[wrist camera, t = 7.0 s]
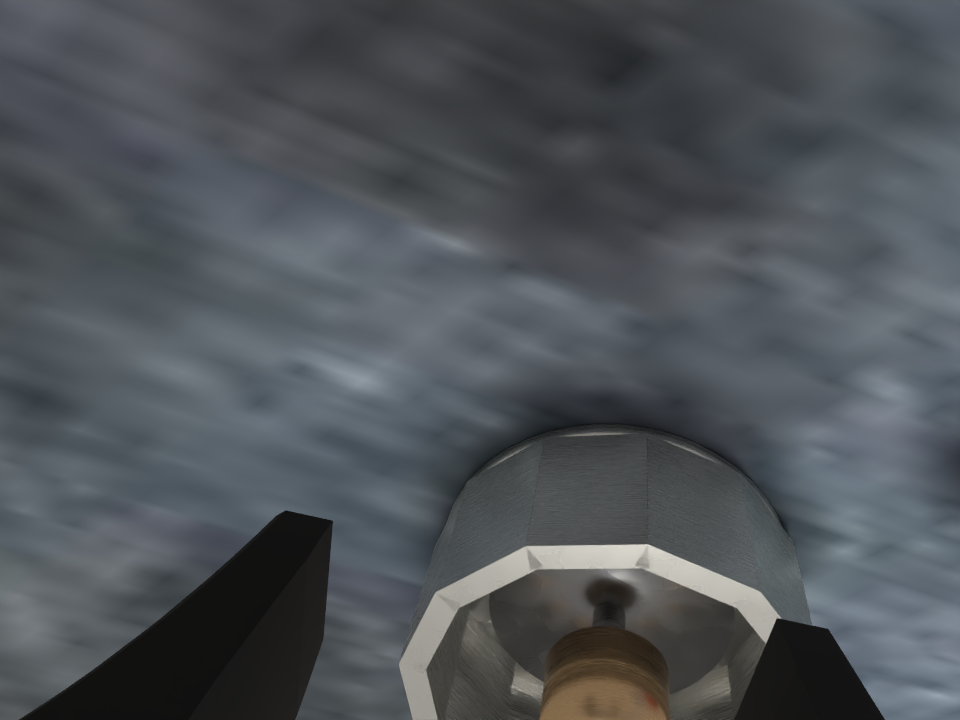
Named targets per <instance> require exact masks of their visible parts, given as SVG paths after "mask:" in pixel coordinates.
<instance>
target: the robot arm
mask: <svg viewBox="0 0 960 720" xmlns="http://www.w3.org/2000/svg"><path fill="white" fill-rule="evenodd" d="M332 525H333V521H331V520H327V519H322V518H318V517H313V516H309V515H304V514H299V513H295V512H290V511H284V512H282V513H280V514H279V515H277V516H276V517H275V518H274V519H273V520H272V521H270V522H269V523H268V524H267V525H266V526H265V527H264V528H263V529H262V530H261V531H260V532H259V533H258V534H257V535H256V536H255V537H254V538H253V539H252V540H251V541H249V542H248V543H247V544H246V545H245V546H244V547H243V548H242V549H241V550H240V551H239V552H238V553H236V554H235V555H234V556H233V557H232V558H231V559H230V560H229V561H228V562H226V563H225V564H224V565H223V566H222V567H221V568H220V569H219V570H217V571H216V572H215V573H214V574H213V575H212V576H211V577H210V578H208V579H207V580H206V581H205V582H204V583H203V584H201V585H200V586H199V587H198V588H197V589H195V590H194V591H193V592H192V593H191V594H189V595H188V596H187V597H186V598H185V599H183V600H182V601H181V602H180V603H179V604H177V605H176V606H175V607H174V608H173V609H171V610H170V611H169V612H168V613H167V614H165V615H164V616H163V617H162V618H161V619H159V620H158V621H157V622H156V623H154V624H153V625H152V626H151V627H149V628H148V629H147V630H145V631H144V632H143V633H141V634H140V635H139V636H137V637H136V638H135V639H133V640H132V641H131V642H129V643H128V644H127V645H125V646H124V647H123V648H122V649H120V650H119V651H118V652H116V653H115V654H114V655H112V656H111V657H110V658H108V659H107V660H106V661H104V662H103V663H102V664H100V665H99V666H98V667H96V668H95V669H94V670H92V671H91V672H89V673H88V674H87V675H85V676H84V677H82V678H81V679H79V680H78V681H77V682H75V683H74V684H72V685H71V686H69V687H68V688H66V689H65V690H64V691H62V692H61V693H59V694H58V695H56V696H55V697H53V698H52V699H50V700H49V701H47V702H46V703H44V704H43V705H41V706H39V707H38V708H36V709H35V710H33V711H32V712H30V713H29V714H27V715H26V716H24V717H22V718H21V719H19V720H295V718H296V716H297V714H298V711H299V708H300V705H301V702H302V699H303V697H304V694H305V691H306V688H307V685H308V682H309V679H310V677H311V674H312V671H313V668H314V665H315V662H316V659H317V656H318V653H319V650H320V647H321V644H322V641H323V636H324V624H325V611H326V599H327V587H328V574H329V562H330V549H331V537H332ZM734 720H885V719H884V717H883V716H882V714H881V713H880V711H879V710H878V708H877V706H876V705H875V703H874V702H873V700H872V698H871V697H870V695H869V694H868V692H867V690H866V689H865V687H864V686H863V684H862V682H861V681H860V679H859V677H858V676H857V674H856V673H855V671H854V669H853V668H852V666H851V665H850V663H849V661H848V660H847V658H846V657H845V655H844V653H843V652H842V650H841V649H840V647H839V645H838V644H837V642H836V641H835V639H834V638H833V636H832V634H831V633H830V631H829V630H828V629H825V628H821V627H816V626H812V625H807V624H803V623H798V622H793V621H789V620H784V619H780V618H777V619H776V621H775V624H774V626H773V628H772V631H771V633H770V635H769V638H768V640H767V643H766V645H765V647H764V650H763V652H762V655H761V657H760V659H759V662H758V664H757V666H756V669H755V671H754V674H753V676H752V678H751V681H750V683H749V685H748V688H747V690H746V693H745V695H744V697H743V700H742V702H741V705H740V707H739V709H738V712H737V714H736V716H735V719H734Z"/></svg>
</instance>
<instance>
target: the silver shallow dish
mask: <svg viewBox="0 0 960 720" xmlns="http://www.w3.org/2000/svg"><path fill="white" fill-rule="evenodd" d="M631 568H642V569H644V570H647V571H649V572H652V573H654V574H656V575H659V576H661V577H663V578H666V579H668V580H671V581H673V582H675V583H678V584H680V585H683V586H685V587H687V588H690V589H692V590H695V591H697V592H699V593H702V594H704V595H707V596H709V597H711V598H714V599H716V600H718V601H721V602H723V603H726V604H728V605H730V606H733V607H734V611H735V624H734V631H733V635H732V639H731V642H730V644H729V646H728V648H727V651H726V652H725V654H724V655H723V657H722V658H721V660H720V661H719V663H718V664H717V665H716V666H715V667H714V668H713V669H712V670H711V671H710V672H709V673H708V674H706V675H705V676H704V677H703V678H702V679H700V680H699V681H697V682H695V683H694V684H692V685H691V686H689V687H687V688H685V689H682V690H680V691H678V692H676V693H673V694H670V720H734V719H735V716H736V714H737V712H738V709H739V707H740V705H741V702H742V700H743V697H744V695H745V693H746V690H747V688H748V685H749V683H750V681H751V678H752V676H753V674H754V671H755V669H756V666H757V664H758V662H759V659H760V657H761V655H762V652H763V650H764V647H765V645H766V643H767V640H768V638H769V635H770V633H771V631H772V628H773V626H774V624H775V621H776V619H777V618H780V619H784V620H789V621H793V622H798V623H803V624H807V625H812V623H811V618H810V614H809V609H808V605H807V600H806V596H805V591H804V587H803V582H802V578H801V573H800V569H799V564H798V560H797V555H796V551H795V546H794V542H793V541H792V540H791V538H790V537H789V536H788V535H787V533H786V532H785V531H784V529H783V527H782V525H781V522H780V520H779V518H778V516H777V513H776V512H775V510H774V509H773V507H772V506H771V504H770V502H769V501H768V499H767V498H766V496H765V495H764V494H763V493H762V492H761V490H760V489H759V488H758V487H757V486H756V485H755V484H754V483H753V481H752V480H751V479H750V478H748V477H747V476H746V475H745V474H744V473H743V472H741V471H740V470H739V469H738V468H737V467H736V466H735V465H733V464H732V463H730V462H729V461H727V460H726V459H724V458H723V457H721V456H720V455H718V454H716V453H715V452H713V451H711V450H709V449H707V448H705V447H703V446H701V445H699V444H697V443H695V442H693V441H690V440H687V439H685V438H682V437H679V436H676V435H673V434H671V433H667V432H663V431H658V430H654V429H650V428H646V427H638V426H630V425H622V424H592V425H582V426H572V427H567V428H562V429H558V430H553V431H549V432H546V433H543V434H540V435H537V436H534V437H531V438H528V439H526V440H524V441H522V442H520V443H518V444H516V445H514V446H511V447H509V448H507V449H506V450H504V451H503V452H501V453H500V454H498V455H497V456H495V457H494V458H492V459H491V460H490V461H488V462H487V463H486V464H485V465H484V466H483V467H482V468H481V469H479V470H478V471H477V472H476V473H475V474H474V475H473V477H472V478H471V479H470V480H468V481H467V482H466V484H465V486H464V487H463V489H462V491H461V492H460V494H459V496H458V497H457V499H456V501H455V502H454V504H453V507H452V509H451V512H450V514H449V517H448V520H447V523H446V525H445V527H444V529H443V531H442V533H441V535H440V537H439V539H438V541H437V543H436V545H435V547H434V551H433V554H432V557H431V560H430V564H429V567H428V570H427V574H426V577H425V580H424V583H423V587H422V590H421V593H420V596H419V600H418V603H417V606H416V609H415V613H414V616H413V619H412V623H411V626H410V629H409V632H408V636H407V639H406V642H405V645H404V649H403V652H402V655H401V659H400V662H399V666H400V670H401V674H402V678H403V682H404V686H405V690H406V694H407V698H408V702H409V706H410V710H411V714H412V718H413V720H539V716H540V708H541V700H542V692H543V684H544V682H542V681H541V680H539V679H537V678H536V677H534V676H533V675H531V674H530V673H529V672H527V671H526V670H525V669H523V668H522V667H521V666H520V665H519V664H518V663H517V662H516V661H515V660H514V659H513V658H512V657H511V656H510V655H509V653H508V652H507V651H506V650H505V648H504V647H503V645H502V644H501V642H500V641H499V639H498V637H497V635H496V632H495V630H494V628H493V625H492V621H491V617H490V610H489V595H490V593H491V592H493V591H495V590H497V589H499V588H501V587H503V586H505V585H507V584H509V583H511V582H513V581H515V580H517V579H519V578H521V577H523V576H525V575H527V574H529V573H531V572H533V571H535V570H537V569H631Z"/></svg>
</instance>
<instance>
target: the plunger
mask: <svg viewBox="0 0 960 720" xmlns="http://www.w3.org/2000/svg"><path fill="white" fill-rule="evenodd" d="M489 610H490V617H491V621H492V625H493V628H494V630H495V632H496V635H497V637H498V639H499V641H500V642H501V644H502V645H503V647H504V648H505V650H506V651H507V652H508V653H509V655H510V656H511V657H512V658H513V659H514V660H515V661H516V662H517V663H518V664H519V665H520V666H521V667H522V668H523V669H525V670H526V671H527V672H529V673H530V674H531V675H533V676H534V677H536V678H537V679H539V680H541V681H542V682H544V684H543V692H542V700H541V708H540V716H539V720H670V694H673V693H676V692H678V691H680V690H682V689H685V688H687V687H689V686H691V685H692V684H694V683H695V682H697V681H699V680H700V679H702V678H703V677H704V676H705V675H706V674H708V673H709V672H710V671H711V670H712V669H713V668H714V667H715V666H716V665H717V664H718V663H719V661H720V660H721V658H722V657H723V655H724V654H725V652H726V651H727V648H728V646H729V644H730V642H731V639H732V635H733V631H734V624H735V611H734V607H733V606H730V605H728V604H726V603H723V602H721V601H718V600H716V599H714V598H711V597H709V596H707V595H704V594H702V593H699V592H697V591H695V590H692V589H690V588H687V587H685V586H683V585H680V584H678V583H675V582H673V581H671V580H668V579H666V578H663V577H661V576H659V575H656V574H654V573H652V572H649V571H647V570H644V569H642V568H631V569H537V570H535V571H533V572H531V573H529V574H527V575H525V576H523V577H521V578H519V579H517V580H515V581H513V582H511V583H509V584H507V585H505V586H503V587H501V588H499V589H497V590H495V591H493V592H491V593H490V595H489Z"/></svg>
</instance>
